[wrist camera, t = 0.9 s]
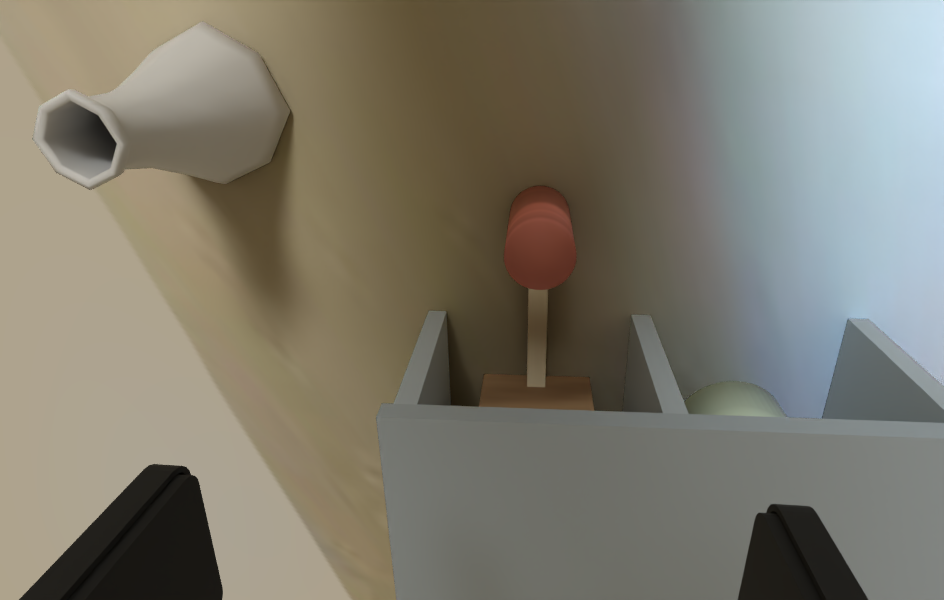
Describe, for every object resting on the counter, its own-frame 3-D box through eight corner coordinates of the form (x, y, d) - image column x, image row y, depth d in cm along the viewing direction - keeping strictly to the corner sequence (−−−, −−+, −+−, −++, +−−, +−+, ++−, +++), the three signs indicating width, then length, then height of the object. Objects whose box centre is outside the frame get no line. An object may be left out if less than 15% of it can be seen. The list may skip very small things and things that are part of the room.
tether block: (479, 185, 30) (467, 222, 25) (601, 185, 30) (616, 222, 24) (485, 456, 37) (476, 531, 32) (583, 461, 37) (591, 537, 31)
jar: (679, 379, 34) (712, 462, 27) (792, 382, 33) (852, 468, 27) (668, 464, 36) (695, 558, 30) (772, 469, 36) (823, 565, 29)
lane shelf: (419, 310, 33) (376, 417, 24) (878, 319, 31) (1019, 441, 22) (431, 480, 38) (398, 621, 29) (827, 499, 36) (925, 658, 27)
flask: (230, 206, 32) (109, 278, 23) (119, 101, 30) (-60, 134, 21) (317, 111, 29) (220, 149, 20) (201, -10, 28) (37, -27, 19)
